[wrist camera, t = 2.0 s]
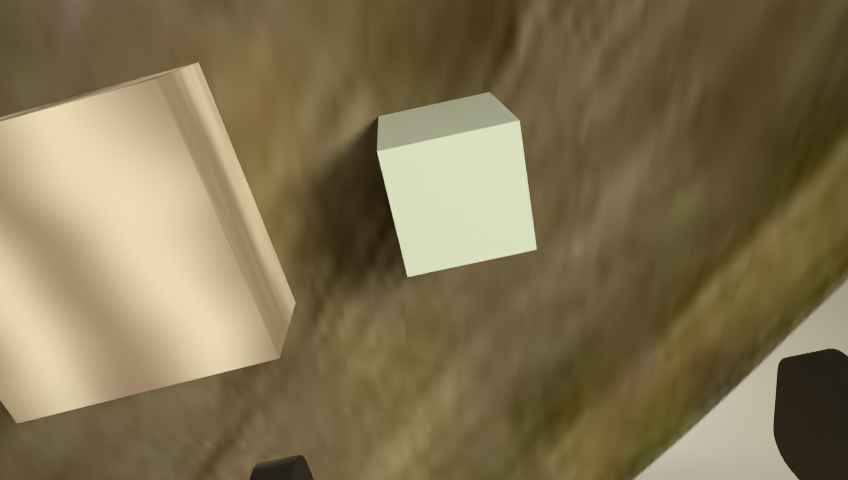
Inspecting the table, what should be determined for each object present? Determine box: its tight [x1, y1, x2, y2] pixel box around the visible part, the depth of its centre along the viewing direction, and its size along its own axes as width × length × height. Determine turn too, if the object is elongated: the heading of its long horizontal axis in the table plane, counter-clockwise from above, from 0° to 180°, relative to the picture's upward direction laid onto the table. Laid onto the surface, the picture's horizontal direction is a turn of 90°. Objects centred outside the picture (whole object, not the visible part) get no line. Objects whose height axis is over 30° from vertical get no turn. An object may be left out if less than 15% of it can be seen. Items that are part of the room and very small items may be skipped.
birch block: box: [0, 63, 295, 423], centre depth 24 cm, size 12×12×5 cm
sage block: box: [377, 92, 537, 277], centre depth 23 cm, size 5×5×6 cm
